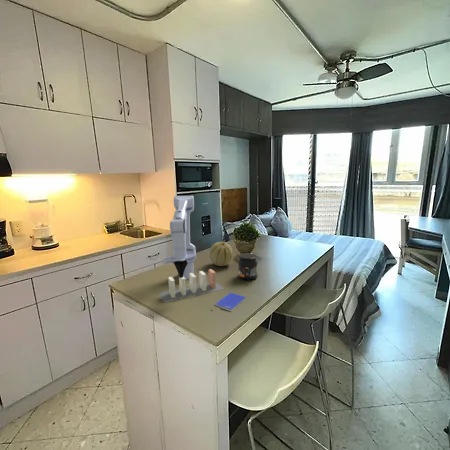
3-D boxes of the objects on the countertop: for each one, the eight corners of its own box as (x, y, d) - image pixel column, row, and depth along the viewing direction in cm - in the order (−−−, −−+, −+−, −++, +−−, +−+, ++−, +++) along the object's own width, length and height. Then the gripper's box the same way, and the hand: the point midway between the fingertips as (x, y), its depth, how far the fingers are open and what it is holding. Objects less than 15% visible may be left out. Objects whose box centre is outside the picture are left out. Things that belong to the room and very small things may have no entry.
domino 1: (169, 293, 116) (168, 277, 115) (172, 292, 117) (171, 276, 116) (171, 297, 112) (170, 281, 110) (175, 297, 113) (174, 280, 111)
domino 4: (199, 286, 123) (199, 271, 121) (202, 286, 124) (202, 270, 122) (203, 291, 118) (202, 275, 117) (206, 290, 119) (206, 274, 118)
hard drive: (231, 309, 101) (245, 296, 111) (214, 303, 105) (229, 292, 116) (231, 312, 101) (245, 300, 112) (214, 307, 106) (229, 295, 116)
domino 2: (179, 291, 119) (178, 275, 117) (182, 290, 119) (182, 274, 118) (182, 295, 114) (182, 279, 113) (186, 294, 115) (185, 278, 113)
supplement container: (234, 274, 138) (234, 254, 136) (252, 272, 142) (252, 251, 140) (242, 282, 129) (242, 259, 126) (261, 279, 132) (261, 257, 130)
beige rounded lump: (217, 259, 163) (217, 237, 161) (237, 263, 156) (237, 240, 153) (204, 267, 151) (203, 242, 148) (225, 271, 144) (224, 246, 141)
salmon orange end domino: (208, 284, 125) (208, 269, 124) (211, 284, 126) (211, 268, 125) (212, 288, 121) (212, 272, 119) (215, 287, 122) (215, 272, 120)
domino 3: (189, 289, 121) (189, 273, 119) (192, 288, 121) (192, 272, 120) (193, 293, 116) (192, 277, 115) (196, 292, 117) (195, 276, 115)
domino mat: (158, 293, 117) (158, 293, 117) (215, 281, 129) (215, 281, 129) (163, 303, 108) (163, 302, 108) (224, 289, 121) (224, 288, 121)
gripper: (164, 251, 101) (166, 283, 103) (198, 247, 107) (199, 276, 110) (160, 247, 107) (162, 277, 109) (193, 243, 113) (194, 271, 116)
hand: (180, 276), depth 110 cm, fingers closed
